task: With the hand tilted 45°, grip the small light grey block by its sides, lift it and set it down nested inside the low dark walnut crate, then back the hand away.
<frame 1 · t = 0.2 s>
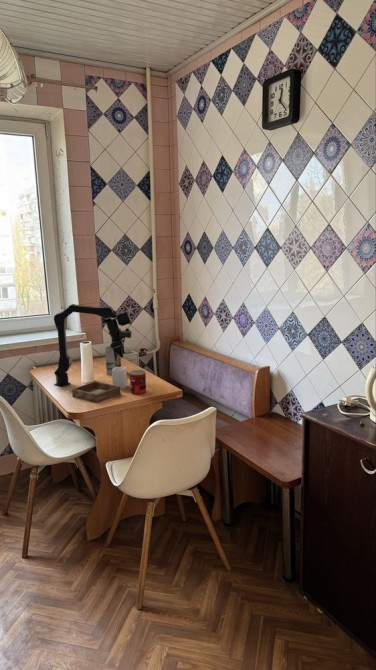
hand: (123, 355, 259), 15 cm above the table, tool tilted 15°, fingers open, 9 cm apart
coffee box: (114, 373, 281), on the table
walnut crate: (96, 395, 240), on the table
canned food: (138, 392, 244), on the table
light grey block: (120, 386, 254), on the table
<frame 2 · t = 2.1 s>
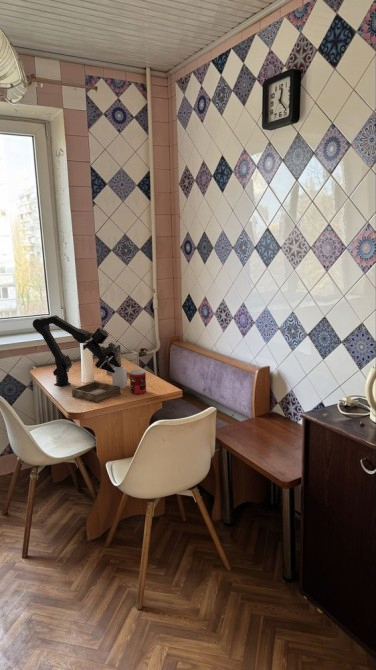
hand: (117, 370, 252), 9 cm above the table, tool tilted 45°, fingers open, 9 cm apart
nothing on the table moved.
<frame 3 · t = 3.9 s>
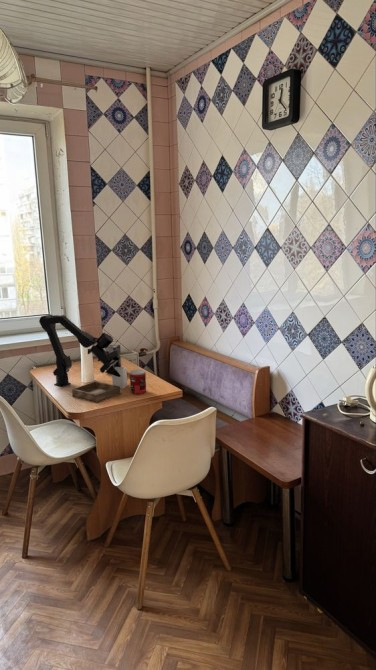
hand: (121, 374, 252), 7 cm above the table, tool tilted 45°, fingers closed on light grey block, 6 cm apart
light grey block: (120, 386, 254), on the table, touching gripper
everything else where it was.
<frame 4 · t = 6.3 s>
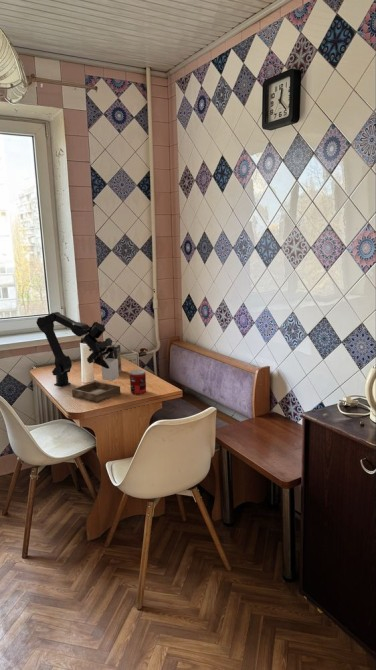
hand: (112, 366, 243), 13 cm above the table, tool tilted 45°, fingers closed on light grey block, 6 cm apart
light grey block: (110, 378, 245), point 7 cm above the table, touching gripper
everything else where it was.
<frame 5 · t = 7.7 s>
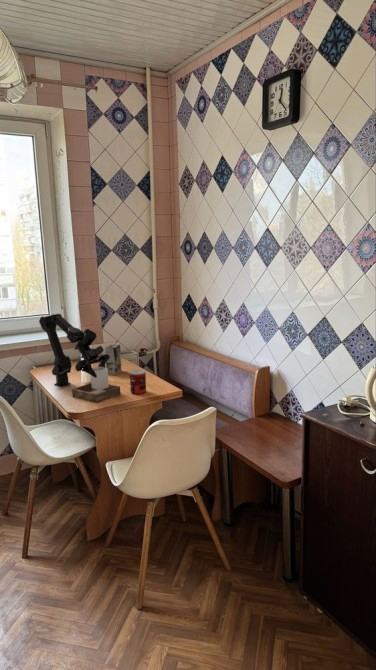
hand: (101, 375, 237), 11 cm above the table, tool tilted 45°, fingers closed on light grey block, 6 cm apart
light grey block: (100, 387, 239), point 4 cm above the table, touching gripper
everything else where it was.
when the fingers open (9 cm above the table, at t = 8.9 s): light grey block drops 2 cm, resting on walnut crate.
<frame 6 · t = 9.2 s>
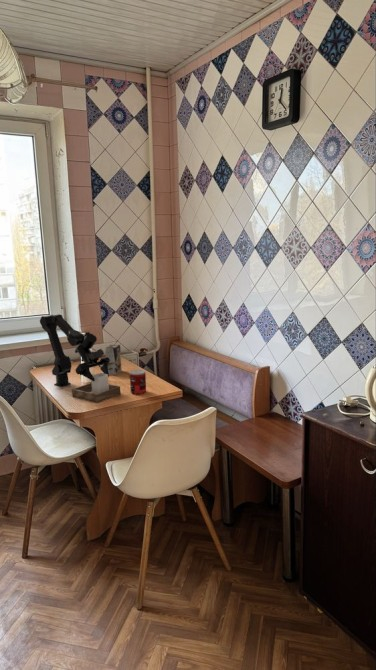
hand: (101, 378, 237), 9 cm above the table, tool tilted 45°, fingers open, 9 cm apart
light grey block: (100, 393, 240), point 1 cm above the table, touching walnut crate
everything else where it was.
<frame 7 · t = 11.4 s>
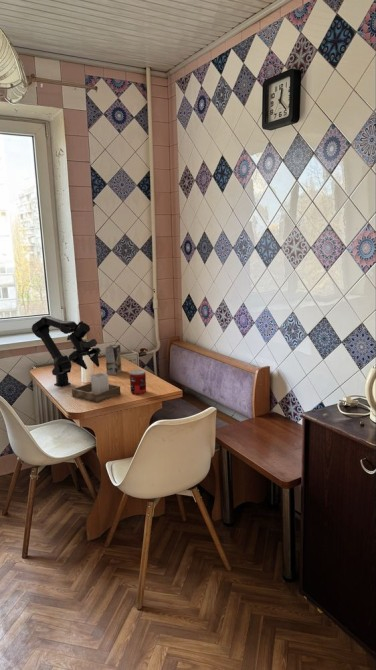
hand: (92, 367, 242), 13 cm above the table, tool tilted 40°, fingers open, 9 cm apart
nothing on the table moved.
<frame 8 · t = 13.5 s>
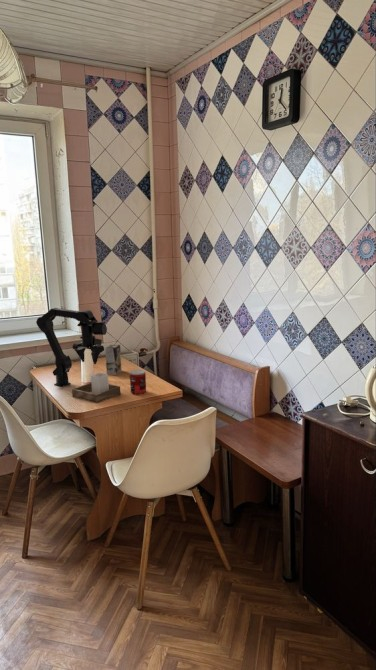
hand: (89, 363, 253), 13 cm above the table, tool pointing down, fingers open, 9 cm apart
nothing on the table moved.
at the end: light grey block inside the target area on the walnut crate (2.2 cm from its centre), point 0.8 cm above the walnut crate's base; light grey block tilted 0°; the gripper is holding nothing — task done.
